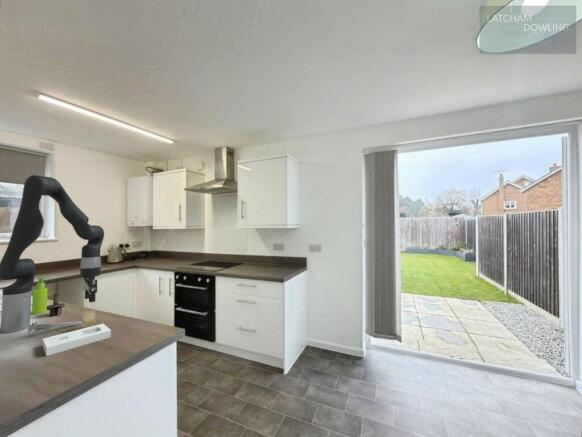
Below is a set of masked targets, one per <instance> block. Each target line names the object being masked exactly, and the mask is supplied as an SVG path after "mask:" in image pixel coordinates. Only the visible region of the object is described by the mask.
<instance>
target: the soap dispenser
mask: <svg viewBox="0 0 582 437" xmlns="http://www.w3.org/2000/svg"><path fill="white" fill-rule="evenodd" d="M48 279H50V278H49V277H47V276H42V277H37V278H36V280H38V282H37V283H36V285H35V289H32V296H31V315H39V314H45V313H47V311H48V310H47V306H48V288H47V287H45V286H46V282H44V280H48Z"/></svg>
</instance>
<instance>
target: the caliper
mask: <svg viewBox="0 0 582 437" xmlns="http://www.w3.org/2000/svg"><path fill="white" fill-rule="evenodd" d="M82 322H83V320H80V321H70V322H61V323H60V322H59V323H51V322H47V323H38V322H37V321H36V322H35V323H34V322H32V323H31V324H30V326H29V327H28V328H27V333H26V334H27V335H26V336H27V338H30V336H31V334H32V332H33V330H34V332H33V335H32V336H33V337H36V336H37V335H38V332H39V331H40V330H42V331H46V330H47V331H49V330H50V329H51V328H60V327H61V328H62V327H71V326H72V327H73V326H80V325H82Z"/></svg>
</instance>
